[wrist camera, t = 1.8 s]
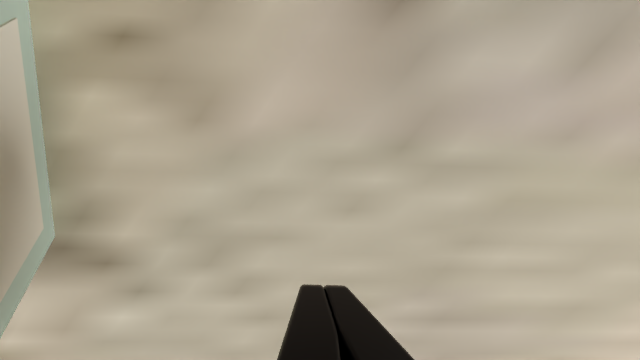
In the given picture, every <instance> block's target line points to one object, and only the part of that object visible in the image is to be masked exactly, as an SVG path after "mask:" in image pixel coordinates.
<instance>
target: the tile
mask: <svg viewBox="0 0 640 360" xmlns="http://www.w3.org/2000/svg"><path fill="white" fill-rule="evenodd" d="M54 237H55V232H54V223H53V215H52V206H51V197H50V188H49V180H48V171H47V162H46V153H45V145H44V136H43V127H42V118H41V109H40V101H39V92H38V83H37V74H36V66H35V57H34V48H33V39H32V31H31V22H30V13H29V4H28V0H0V338H1V336H2V334H3V332H4V330H5V329H6V327H7V325H8V323H9V321H10V319H11V317H12V316H13V314H14V312H15V310H16V308H17V306H18V304H19V303H20V301H21V299H22V297H23V295H24V293H25V291H26V289H27V288H28V286H29V284H30V282H31V280H32V278H33V276H34V275H35V273H36V271H37V269H38V267H39V265H40V263H41V262H42V260H43V258H44V256H45V254H46V252H47V250H48V248H49V247H50V245H51V243H52V241H53V239H54Z"/></svg>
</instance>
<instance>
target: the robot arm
mask: <svg viewBox="0 0 640 360" xmlns="http://www.w3.org/2000/svg"><path fill="white" fill-rule="evenodd" d="M277 360H414V359H413V358H412V357H411V356H410V355H409V354H408V352H407V351H406V350H405V349H404V348H403V347H402V346H401V345H400V344H399V343H398V342H397V341H396V340H395V338H394V337H393V336H392V335H391V334H390V333H389V332H388V331H387V330H386V329H385V328H384V327H383V326H382V324H381V323H380V322H379V321H378V320H377V319H376V318H375V317H374V316H373V315H372V314H371V313H370V312H369V311H368V309H367V308H366V307H365V306H364V305H363V304H362V303H361V302H360V301H359V300H358V299H357V298H356V297H355V295H354V294H353V293H352V292H351V291H350V290H349V289H348V288H347V287H345V286H338V285H326V286H325V287H324V288H323V287H322V286H321V285H302V286H301V287H300V290H299V293H298V296H297V299H296V302H295V305H294V308H293V312H292V315H291V318H290V321H289V324H288V327H287V330H286V333H285V336H284V340H283V343H282V346H281V349H280V352H279V355H278V358H277Z"/></svg>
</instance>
